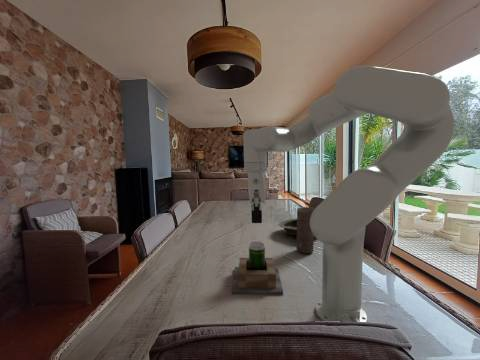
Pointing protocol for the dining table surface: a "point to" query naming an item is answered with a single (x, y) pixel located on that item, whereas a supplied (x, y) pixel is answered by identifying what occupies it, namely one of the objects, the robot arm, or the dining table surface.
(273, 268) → the well block
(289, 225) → the stone bowl
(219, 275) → the dining table surface
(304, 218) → the brown cylinder
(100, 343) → the dining table surface
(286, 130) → the robot arm
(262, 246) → the beer can
